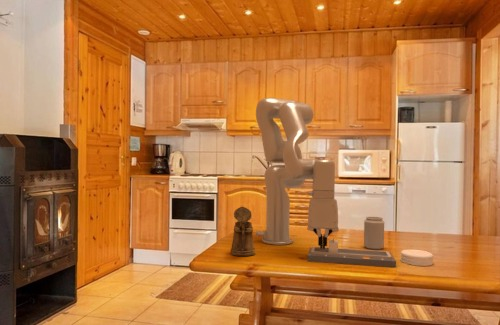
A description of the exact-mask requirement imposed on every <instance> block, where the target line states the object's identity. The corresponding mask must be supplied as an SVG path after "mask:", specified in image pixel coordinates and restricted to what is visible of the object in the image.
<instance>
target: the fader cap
mask: <svg viewBox="0 0 500 325" xmlns="http://www.w3.org/2000/svg"><path fill="white" fill-rule="evenodd" d="M328 248H329V252H331V253H338V248H339V241H338V239H334V238H333V239H328Z"/></svg>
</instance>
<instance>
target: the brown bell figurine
mask: <svg viewBox="0 0 500 325" xmlns="http://www.w3.org/2000/svg"><path fill="white" fill-rule="evenodd" d="M233 216H234V219H235V220H236V221H235V223H234V226H233V236H232V244H231V248H230V252H229V253H230V255H232V256H234V255H235V257H251V255H252V256H254V255H255V254H256V249H255V244H254V235H253V232H254V226H253V224H252V222H251V221H250V220H251V219H252V211H251V210H250V209H248V208H247V207H244V206H240V207H238V208H236V209H235V210H234V212H233Z"/></svg>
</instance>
